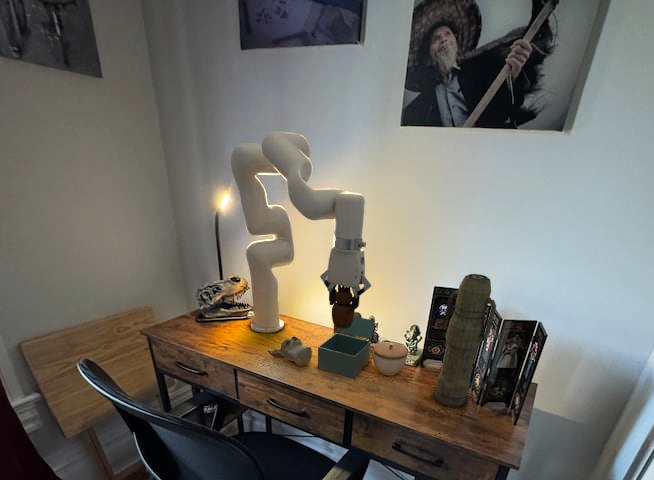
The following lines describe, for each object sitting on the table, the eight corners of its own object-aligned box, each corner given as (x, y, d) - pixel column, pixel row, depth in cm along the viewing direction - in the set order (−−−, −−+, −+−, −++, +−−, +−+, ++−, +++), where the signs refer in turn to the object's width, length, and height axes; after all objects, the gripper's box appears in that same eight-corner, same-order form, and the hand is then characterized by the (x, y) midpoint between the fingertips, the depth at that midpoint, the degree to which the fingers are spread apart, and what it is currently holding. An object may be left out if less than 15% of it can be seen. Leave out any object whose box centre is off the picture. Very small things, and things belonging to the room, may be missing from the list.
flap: (339, 312, 125) (340, 312, 125) (336, 331, 126) (336, 331, 126) (375, 320, 120) (375, 320, 121) (370, 339, 122) (371, 339, 122)
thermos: (435, 384, 115) (459, 268, 97) (474, 397, 110) (506, 277, 92) (424, 397, 108) (447, 275, 90) (464, 412, 103) (498, 285, 85)
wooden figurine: (329, 329, 114) (331, 279, 106) (333, 321, 118) (335, 274, 110) (351, 332, 113) (355, 282, 105) (354, 324, 118) (358, 276, 110)
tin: (338, 342, 137) (339, 321, 133) (331, 340, 139) (332, 318, 134) (362, 330, 148) (363, 310, 143) (355, 328, 149) (356, 308, 145)
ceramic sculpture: (296, 347, 112) (264, 335, 121) (297, 373, 116) (266, 359, 125) (321, 337, 119) (289, 326, 128) (321, 362, 123) (290, 350, 132)
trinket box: (386, 359, 128) (389, 334, 123) (411, 371, 121) (415, 345, 116) (364, 369, 121) (366, 343, 116) (390, 383, 115) (393, 355, 110)
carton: (317, 367, 121) (317, 347, 117) (335, 352, 130) (336, 333, 127) (353, 377, 116) (355, 356, 112) (369, 361, 126) (371, 341, 122)
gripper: (382, 246, 103) (375, 308, 112) (325, 236, 108) (323, 297, 118) (371, 251, 97) (365, 316, 106) (312, 240, 103) (311, 304, 112)
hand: (343, 305), depth 112 cm, fingers closed on wooden figurine, 6 cm apart
